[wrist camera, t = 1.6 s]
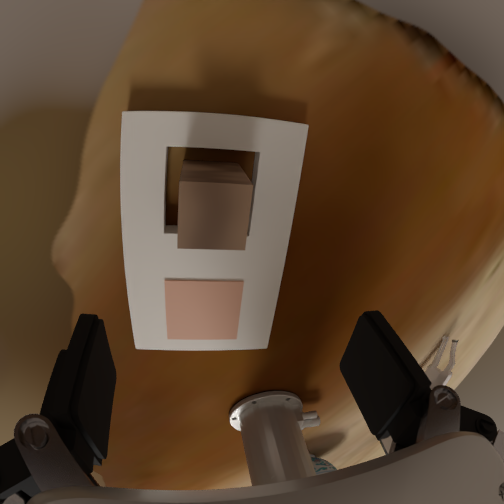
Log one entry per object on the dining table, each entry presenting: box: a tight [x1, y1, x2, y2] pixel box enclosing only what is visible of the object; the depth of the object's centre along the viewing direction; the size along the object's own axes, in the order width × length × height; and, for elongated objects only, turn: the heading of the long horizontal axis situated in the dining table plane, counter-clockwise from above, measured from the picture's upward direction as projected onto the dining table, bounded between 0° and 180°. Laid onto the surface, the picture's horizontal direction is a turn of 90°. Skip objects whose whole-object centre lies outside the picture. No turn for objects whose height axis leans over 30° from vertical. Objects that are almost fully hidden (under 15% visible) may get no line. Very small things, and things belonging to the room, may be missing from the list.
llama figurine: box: [425, 336, 459, 389], centre depth 49 cm, size 2×11×18 cm
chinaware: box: [309, 454, 337, 475], centre depth 59 cm, size 15×15×8 cm
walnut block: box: [177, 160, 253, 250], centre depth 25 cm, size 5×5×8 cm
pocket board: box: [120, 111, 309, 350], centre depth 30 cm, size 16×26×2 cm, turn 173°
